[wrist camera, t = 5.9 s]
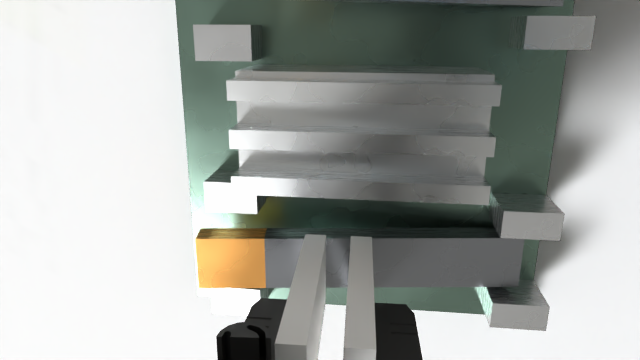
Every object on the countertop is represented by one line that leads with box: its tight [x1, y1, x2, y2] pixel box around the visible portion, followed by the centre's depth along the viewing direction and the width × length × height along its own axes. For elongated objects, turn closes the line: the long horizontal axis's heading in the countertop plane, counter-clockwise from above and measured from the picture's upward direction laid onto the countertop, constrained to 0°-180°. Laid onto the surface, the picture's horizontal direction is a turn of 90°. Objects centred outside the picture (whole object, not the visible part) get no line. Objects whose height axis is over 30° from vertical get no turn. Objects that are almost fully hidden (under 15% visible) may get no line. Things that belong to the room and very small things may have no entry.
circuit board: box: [175, 0, 596, 331], centre depth 17 cm, size 14×16×5 cm
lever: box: [195, 228, 525, 288], centre depth 19 cm, size 12×2×1 cm, turn 90°
